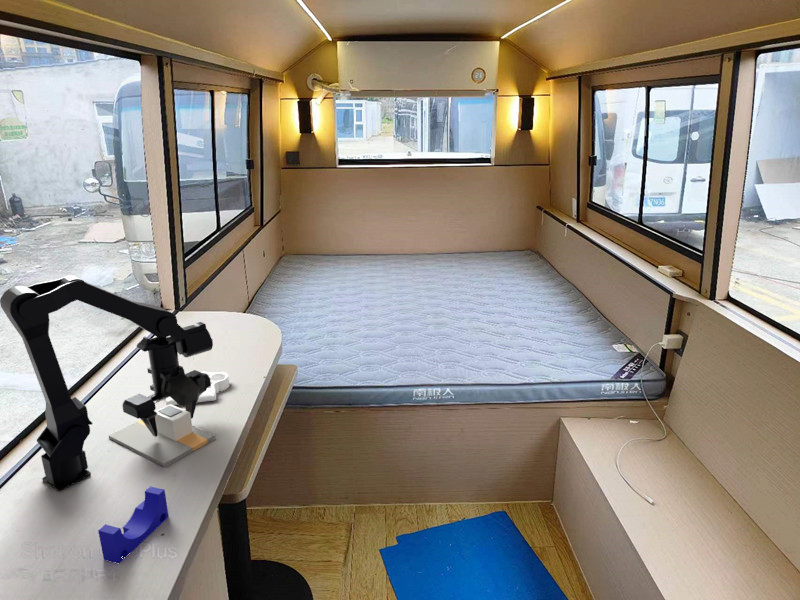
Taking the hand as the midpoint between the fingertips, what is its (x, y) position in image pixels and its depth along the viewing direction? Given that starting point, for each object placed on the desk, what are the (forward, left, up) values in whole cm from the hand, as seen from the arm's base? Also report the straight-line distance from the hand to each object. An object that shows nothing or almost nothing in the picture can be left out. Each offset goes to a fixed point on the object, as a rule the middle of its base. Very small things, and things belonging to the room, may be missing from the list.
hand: (173, 426), depth 130 cm
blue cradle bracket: (-24, -22, -2) cm, 33 cm away
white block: (0, 0, -1) cm, 1 cm away
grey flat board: (-2, +1, -2) cm, 3 cm away
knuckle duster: (+16, +14, -3) cm, 21 cm away
